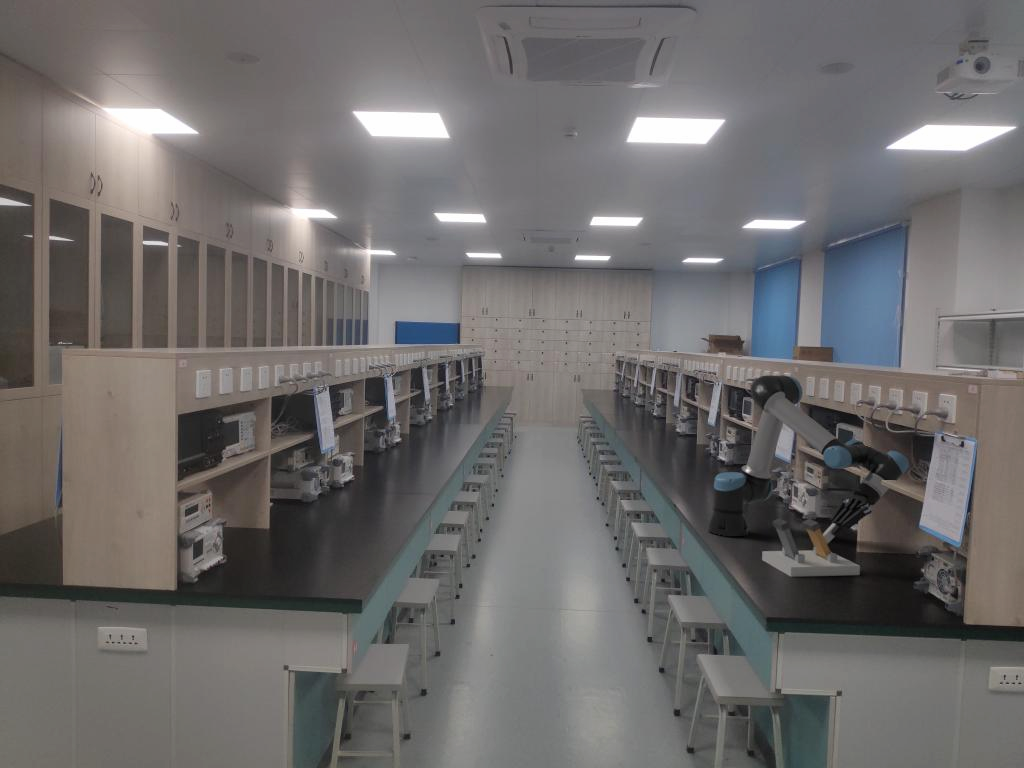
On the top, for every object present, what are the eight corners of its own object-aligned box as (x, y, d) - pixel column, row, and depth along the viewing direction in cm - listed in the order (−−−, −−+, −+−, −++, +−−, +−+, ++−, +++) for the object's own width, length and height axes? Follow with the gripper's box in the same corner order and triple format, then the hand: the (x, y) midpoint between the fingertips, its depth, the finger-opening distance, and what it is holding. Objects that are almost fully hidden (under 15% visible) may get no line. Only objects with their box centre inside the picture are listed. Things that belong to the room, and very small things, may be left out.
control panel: (762, 559, 220) (762, 544, 220) (826, 558, 224) (827, 543, 224) (790, 576, 204) (791, 559, 203) (859, 574, 207) (860, 558, 207)
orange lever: (817, 556, 217) (802, 522, 216) (824, 552, 217) (808, 518, 216) (827, 561, 212) (811, 526, 210) (834, 557, 212) (818, 522, 211)
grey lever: (786, 557, 215) (772, 521, 214) (792, 553, 216) (778, 518, 214) (795, 561, 210) (780, 525, 209) (802, 558, 210) (787, 522, 209)
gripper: (891, 501, 210) (843, 553, 208) (864, 493, 223) (818, 542, 221) (877, 485, 209) (829, 537, 207) (850, 478, 222) (805, 527, 220)
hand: (823, 540), depth 214 cm, fingers closed
